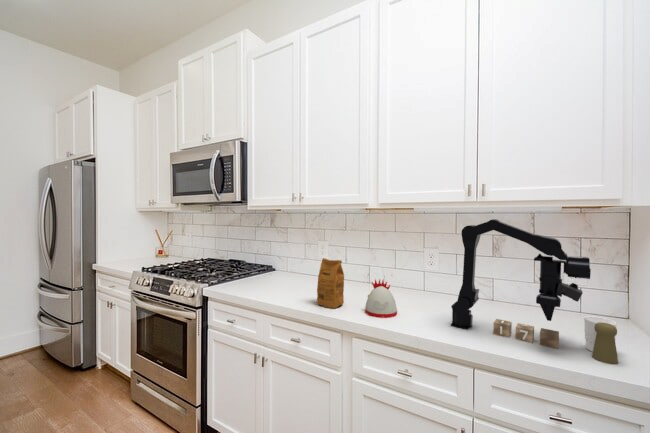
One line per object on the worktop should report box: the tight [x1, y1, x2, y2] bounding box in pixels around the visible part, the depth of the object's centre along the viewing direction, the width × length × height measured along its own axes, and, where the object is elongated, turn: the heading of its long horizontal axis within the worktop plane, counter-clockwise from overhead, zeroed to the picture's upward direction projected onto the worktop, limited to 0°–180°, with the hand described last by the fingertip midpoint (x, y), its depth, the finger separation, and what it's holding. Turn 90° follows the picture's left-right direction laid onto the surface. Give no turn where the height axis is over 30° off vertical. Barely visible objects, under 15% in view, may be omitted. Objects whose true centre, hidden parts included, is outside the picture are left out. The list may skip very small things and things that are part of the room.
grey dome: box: [364, 278, 398, 319], centre depth 137 cm, size 14×14×15 cm
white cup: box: [583, 315, 617, 353], centre depth 101 cm, size 8×8×10 cm
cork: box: [591, 322, 619, 365], centre depth 94 cm, size 6×6×11 cm
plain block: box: [539, 327, 560, 350], centre depth 105 cm, size 5×5×4 cm
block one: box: [492, 318, 513, 339], centre depth 114 cm, size 5×5×5 cm
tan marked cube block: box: [514, 322, 535, 344], centre depth 109 cm, size 5×5×5 cm
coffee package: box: [316, 257, 345, 309], centre depth 147 cm, size 10×12×22 cm
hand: (549, 320), depth 105 cm, fingers closed
